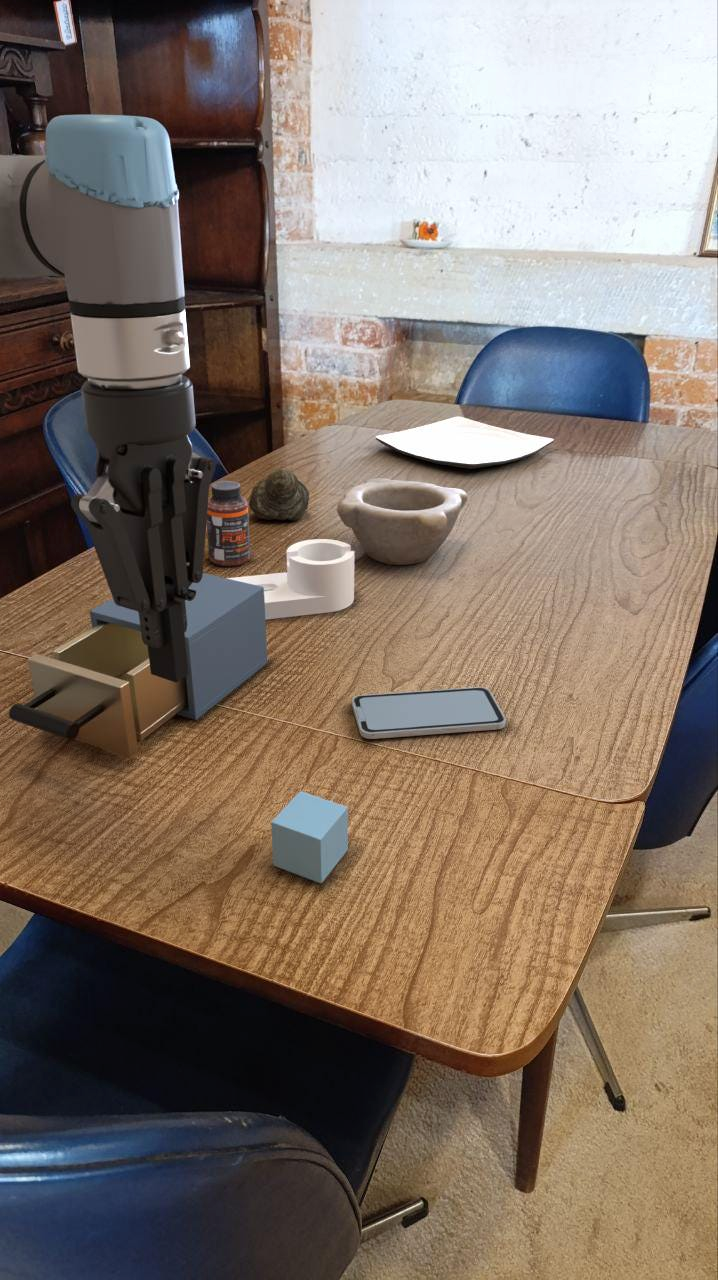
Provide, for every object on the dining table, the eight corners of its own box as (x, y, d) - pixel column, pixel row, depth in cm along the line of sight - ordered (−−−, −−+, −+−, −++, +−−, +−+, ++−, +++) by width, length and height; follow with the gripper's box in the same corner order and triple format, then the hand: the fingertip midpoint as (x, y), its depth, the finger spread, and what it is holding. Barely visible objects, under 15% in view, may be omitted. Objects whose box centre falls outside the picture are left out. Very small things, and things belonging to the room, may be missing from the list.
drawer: (93, 787, 78) (80, 714, 75) (1, 753, 83) (-15, 682, 79) (209, 696, 92) (203, 631, 88) (124, 671, 97) (116, 608, 93)
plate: (563, 452, 178) (564, 439, 177) (472, 481, 161) (473, 467, 160) (456, 426, 197) (457, 414, 195) (364, 449, 179) (365, 436, 178)
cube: (273, 865, 71) (270, 822, 69) (301, 833, 74) (300, 790, 72) (321, 884, 69) (320, 839, 67) (348, 849, 73) (348, 806, 71)
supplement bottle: (224, 571, 124) (219, 494, 118) (201, 559, 127) (195, 484, 122) (259, 560, 127) (255, 485, 122) (235, 549, 131) (230, 475, 126)
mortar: (471, 543, 134) (476, 485, 130) (436, 584, 120) (439, 521, 116) (370, 527, 140) (371, 471, 135) (325, 565, 126) (324, 503, 121)
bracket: (344, 581, 121) (344, 536, 118) (361, 608, 113) (362, 560, 110) (198, 597, 116) (194, 550, 113) (206, 626, 108) (202, 576, 105)
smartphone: (508, 723, 88) (361, 734, 86) (507, 730, 89) (361, 741, 86) (487, 685, 95) (350, 695, 92) (486, 692, 95) (350, 702, 93)
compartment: (195, 720, 90) (188, 637, 85) (101, 690, 95) (89, 611, 90) (267, 663, 100) (264, 586, 96) (179, 638, 106) (171, 565, 101)
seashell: (229, 491, 136) (290, 496, 133) (250, 434, 141) (309, 438, 139) (249, 535, 145) (306, 540, 143) (267, 480, 151) (323, 484, 148)
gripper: (107, 401, 54) (149, 725, 64) (237, 367, 63) (254, 652, 74) (22, 388, 57) (76, 698, 68) (159, 357, 67) (186, 632, 78)
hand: (169, 674), depth 71 cm, fingers closed
